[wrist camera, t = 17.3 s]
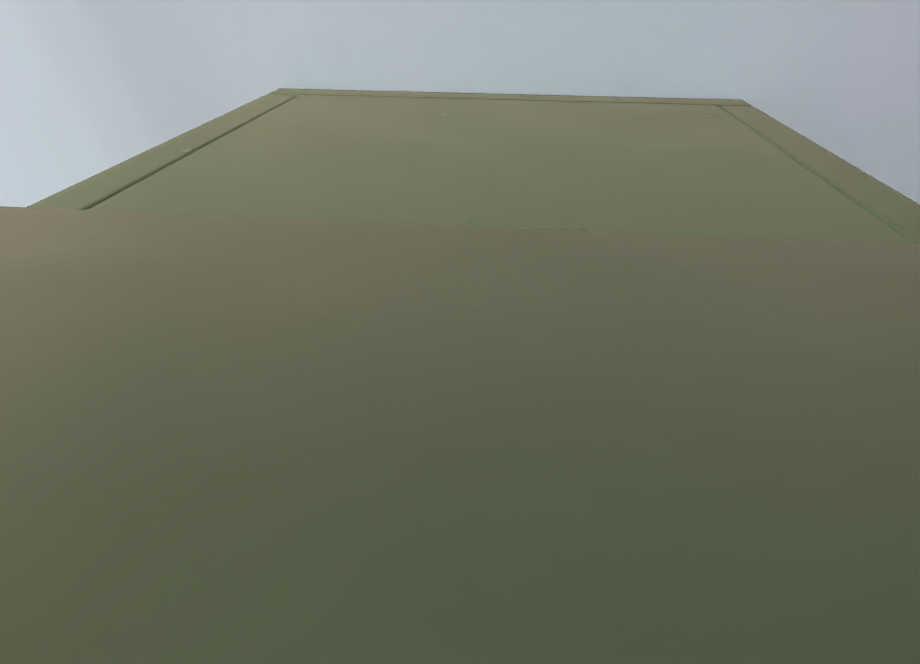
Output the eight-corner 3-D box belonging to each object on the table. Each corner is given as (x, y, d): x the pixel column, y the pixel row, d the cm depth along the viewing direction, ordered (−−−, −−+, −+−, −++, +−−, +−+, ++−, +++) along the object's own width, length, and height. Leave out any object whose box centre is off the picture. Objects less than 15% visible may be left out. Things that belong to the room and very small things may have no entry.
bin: (656, 467, 20) (741, 793, 12) (327, 443, 21) (204, 733, 13) (743, 99, 14) (1027, 264, 6) (277, 88, 15) (-7, 219, 7)
